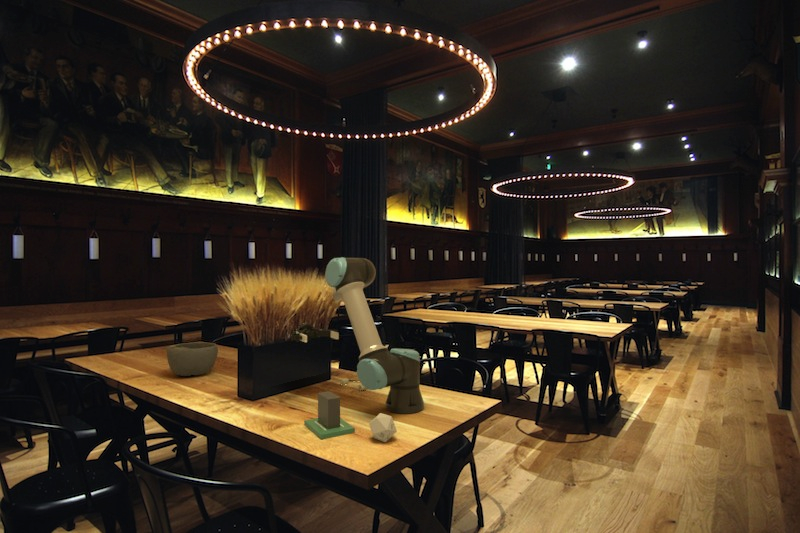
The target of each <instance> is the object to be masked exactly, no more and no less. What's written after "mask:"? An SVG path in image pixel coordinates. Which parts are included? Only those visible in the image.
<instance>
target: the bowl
mask: <svg viewBox="0 0 800 533" xmlns="http://www.w3.org/2000/svg"><path fill="white" fill-rule="evenodd" d="M218 353H219V348H218V345H217V344H216V342H205V341H204V342H201V341H200V342H198V341H197V342H187V343H186V342H184V343H177V344H173V345H169V346H168V347H167V350H166V356H167V363H168V364H167V365H168V367H169V368H170V370H171V371H172V373H174V374H175V375H177V376H179V375H180V376H179V377H192V376H191V375H194V376H199V374H201V375H204V374H206V372H207V373H209V371H211V370H212V369H213V367H214V366H215V363H216V361H217V359H218V358H217V357H218Z"/></svg>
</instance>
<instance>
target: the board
mask: <svg viewBox="0 0 800 533" xmlns="http://www.w3.org/2000/svg"><path fill="white" fill-rule="evenodd" d="M303 423H304V426H305V427H306V428H308V429H309V431H311V432H312V433H313V434H314V435H315V436H317V437H318V438H319V439H320V440H325V439H330V438H334V437H335V438H336V437H340V436H344V435H349V434H353V433H356V432H355V430H356V428H355V427H354V426H353V425H351V424H350V423H348V422H347V421H346V420H344V419H343V418H341V417H340V427H337V428H332V429H327V428H326V427H324V426H323V425H322V424H321V423H319V422H318V417H316V418H310V419H304V420H303Z"/></svg>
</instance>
